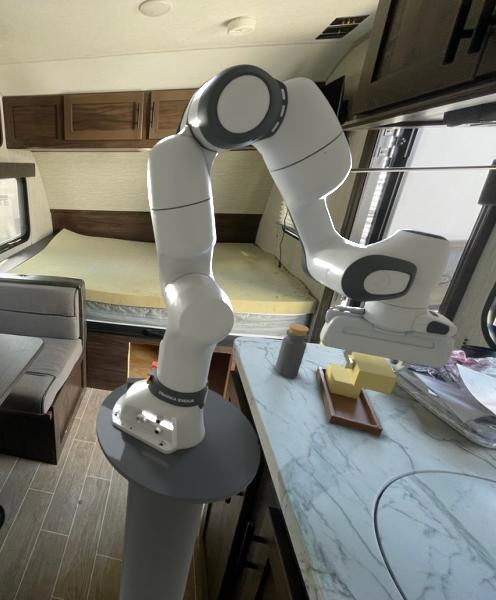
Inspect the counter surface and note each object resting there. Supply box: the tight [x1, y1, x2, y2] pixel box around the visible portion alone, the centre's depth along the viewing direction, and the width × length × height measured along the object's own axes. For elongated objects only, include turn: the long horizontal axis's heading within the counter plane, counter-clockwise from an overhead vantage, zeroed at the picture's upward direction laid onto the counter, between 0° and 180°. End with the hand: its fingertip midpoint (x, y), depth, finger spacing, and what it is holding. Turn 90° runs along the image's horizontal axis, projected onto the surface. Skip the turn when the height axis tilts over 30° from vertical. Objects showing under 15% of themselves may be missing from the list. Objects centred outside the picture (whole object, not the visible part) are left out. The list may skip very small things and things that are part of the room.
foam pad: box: [347, 352, 398, 396], centre depth 68 cm, size 6×9×4 cm, turn 153°
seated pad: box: [325, 362, 362, 399], centre depth 87 cm, size 6×9×4 cm, turn 154°
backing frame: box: [315, 365, 384, 437], centre depth 83 cm, size 10×23×2 cm, turn 154°
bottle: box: [274, 323, 310, 379], centre depth 92 cm, size 6×6×15 cm
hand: (368, 371), depth 69 cm, fingers closed on foam pad, 6 cm apart
